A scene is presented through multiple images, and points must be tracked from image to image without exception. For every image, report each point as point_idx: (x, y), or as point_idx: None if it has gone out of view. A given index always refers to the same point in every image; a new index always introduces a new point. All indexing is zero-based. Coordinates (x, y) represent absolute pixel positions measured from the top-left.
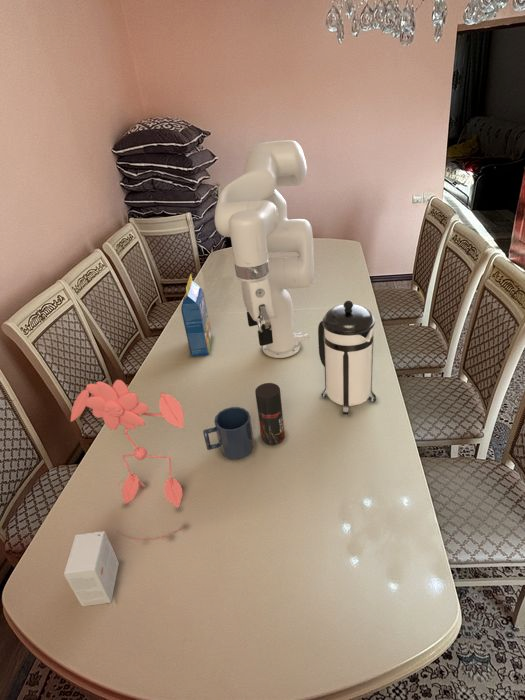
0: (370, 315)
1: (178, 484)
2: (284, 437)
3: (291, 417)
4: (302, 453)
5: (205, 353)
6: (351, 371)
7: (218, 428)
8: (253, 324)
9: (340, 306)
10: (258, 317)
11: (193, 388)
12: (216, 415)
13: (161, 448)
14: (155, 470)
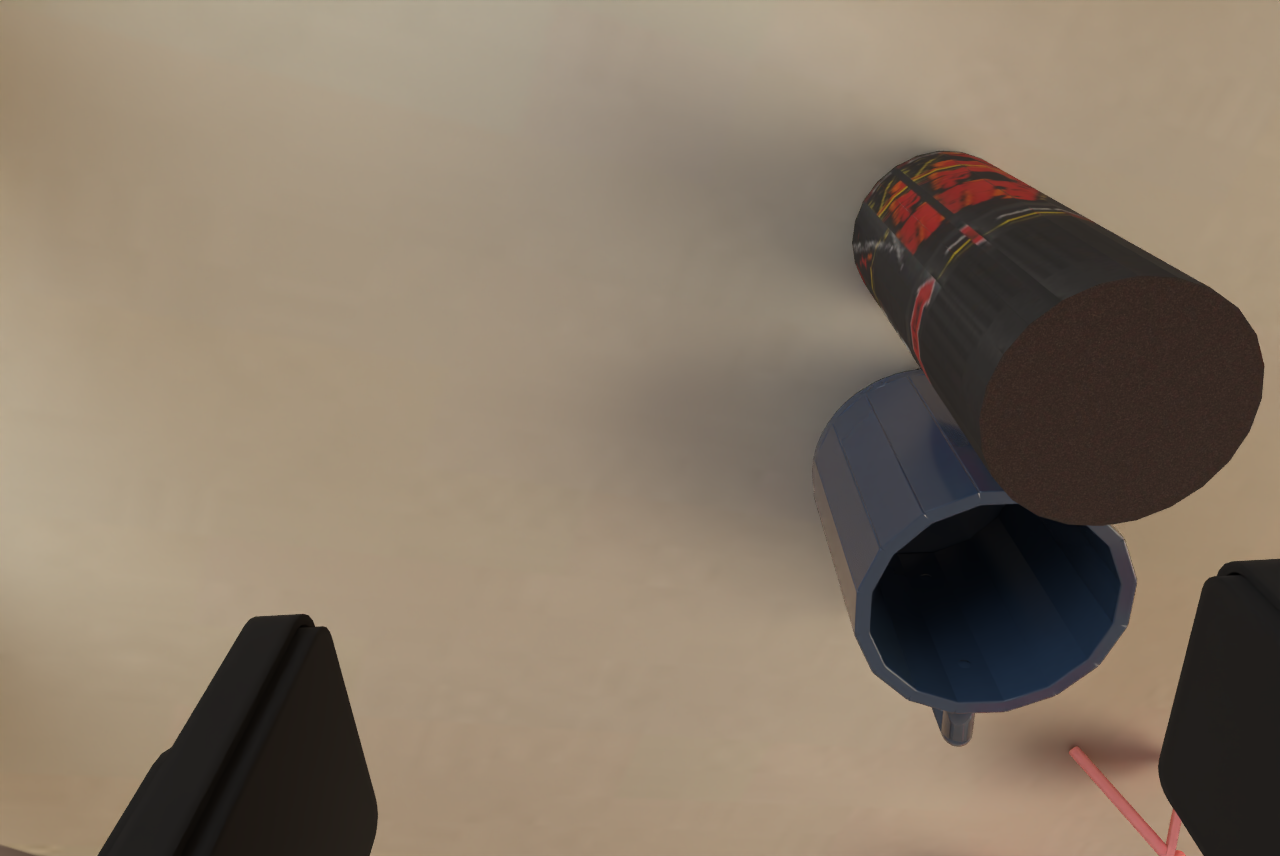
0: None
1: (1180, 822)
2: (983, 160)
3: (785, 38)
4: (1192, 75)
5: None
6: None
7: (1039, 696)
8: (355, 780)
9: None
10: (266, 803)
11: (245, 621)
12: (902, 694)
13: (746, 797)
14: (889, 824)
